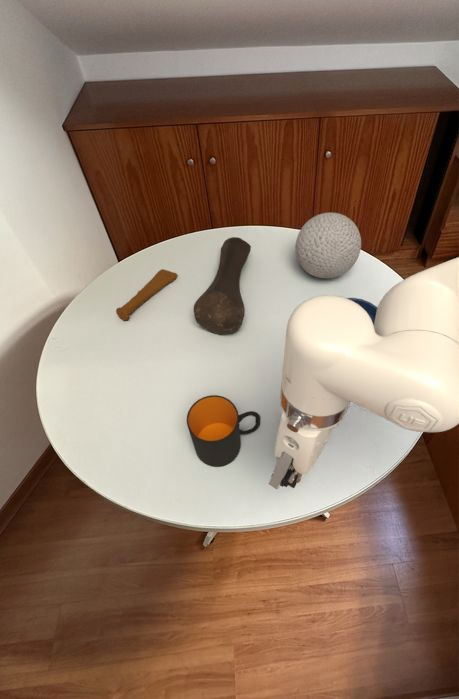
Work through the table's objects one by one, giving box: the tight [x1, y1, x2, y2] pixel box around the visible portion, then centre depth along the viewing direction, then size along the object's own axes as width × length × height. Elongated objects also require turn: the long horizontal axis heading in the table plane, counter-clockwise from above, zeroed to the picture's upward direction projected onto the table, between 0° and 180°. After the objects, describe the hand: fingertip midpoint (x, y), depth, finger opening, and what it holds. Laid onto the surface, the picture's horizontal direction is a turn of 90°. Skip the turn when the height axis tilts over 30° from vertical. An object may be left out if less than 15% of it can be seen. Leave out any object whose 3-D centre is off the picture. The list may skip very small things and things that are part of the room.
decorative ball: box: [295, 212, 362, 279], centre depth 87 cm, size 15×15×15 cm
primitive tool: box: [115, 268, 179, 322], centre depth 90 cm, size 19×6×4 cm, turn 152°
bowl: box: [346, 297, 378, 325], centre depth 78 cm, size 12×12×5 cm
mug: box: [186, 394, 261, 468], centre depth 62 cm, size 8×12×10 cm
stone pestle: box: [193, 236, 252, 336], centre depth 87 cm, size 11×10×28 cm
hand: (299, 455), depth 54 cm, fingers open, 8 cm apart
